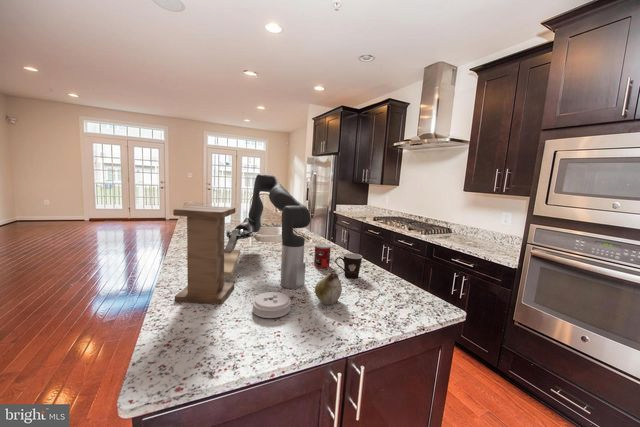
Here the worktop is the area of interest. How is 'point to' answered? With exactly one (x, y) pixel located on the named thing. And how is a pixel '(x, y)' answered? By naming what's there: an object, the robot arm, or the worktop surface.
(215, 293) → the tall stand
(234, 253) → the wooden board
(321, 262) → the canned food
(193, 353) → the worktop surface
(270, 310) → the lid
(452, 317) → the worktop surface
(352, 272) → the coffee mug
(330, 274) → the fruit
